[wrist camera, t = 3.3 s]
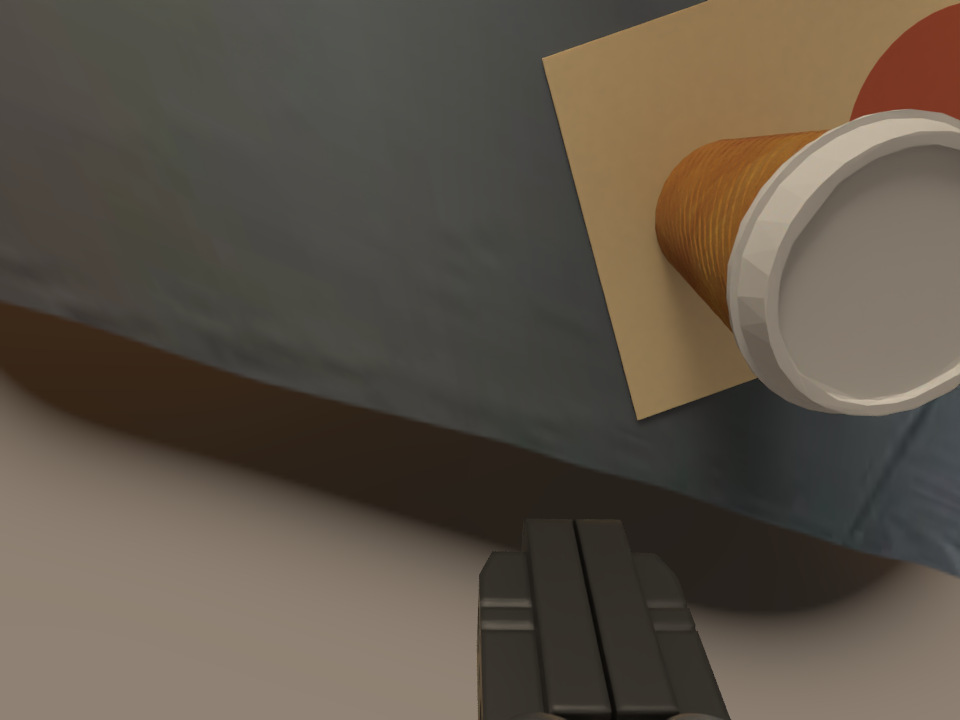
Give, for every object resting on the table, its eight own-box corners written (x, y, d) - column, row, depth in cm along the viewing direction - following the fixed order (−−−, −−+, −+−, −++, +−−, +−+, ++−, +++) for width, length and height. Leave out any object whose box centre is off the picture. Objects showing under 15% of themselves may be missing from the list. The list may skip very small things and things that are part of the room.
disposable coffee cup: (780, 331, 35) (970, 448, 24) (592, 296, 33) (705, 406, 22) (857, 125, 32) (1114, 152, 21) (655, 73, 30) (822, 73, 19)
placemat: (541, 58, 30) (542, 58, 30) (1334, -218, 30) (1338, -219, 30) (637, 419, 36) (637, 420, 36) (1288, 187, 37) (1291, 187, 36)
